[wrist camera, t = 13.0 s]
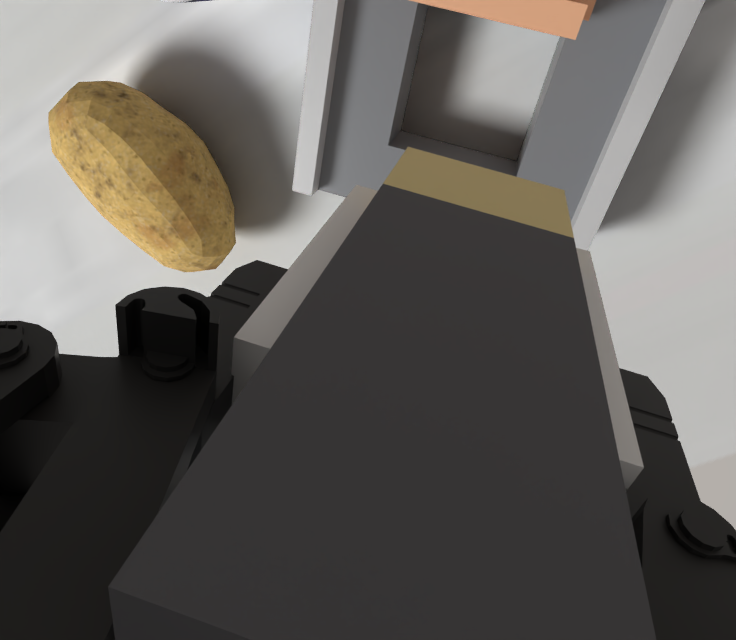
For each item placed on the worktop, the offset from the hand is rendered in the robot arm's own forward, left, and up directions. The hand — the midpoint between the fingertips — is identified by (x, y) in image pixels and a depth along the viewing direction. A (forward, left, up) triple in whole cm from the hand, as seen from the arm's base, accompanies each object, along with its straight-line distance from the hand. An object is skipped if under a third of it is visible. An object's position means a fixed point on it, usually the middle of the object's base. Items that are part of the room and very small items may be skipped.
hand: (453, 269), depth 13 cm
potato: (-16, -6, -16) cm, 24 cm away
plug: (0, 0, -2) cm, 2 cm away
